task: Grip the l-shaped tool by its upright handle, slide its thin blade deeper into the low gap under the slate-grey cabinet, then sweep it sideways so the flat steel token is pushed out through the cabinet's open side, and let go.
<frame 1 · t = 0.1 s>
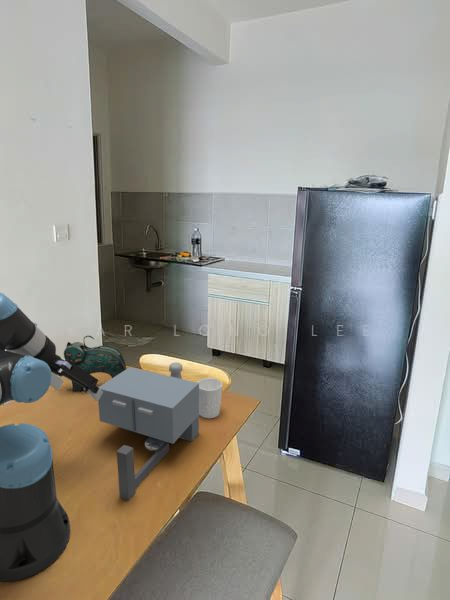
hand: (79, 390, 99), 15 cm above the table, tool tilted 35°, fingers open, 13 cm apart
l-shaped tool: (127, 494, 85), on the table
ceramic cat: (99, 389, 131), on the table
salt shaker: (176, 400, 125), on the table
steel token: (156, 444, 103), on the table
white cup: (209, 413, 118), on the table
cabinet: (150, 436, 106), on the table
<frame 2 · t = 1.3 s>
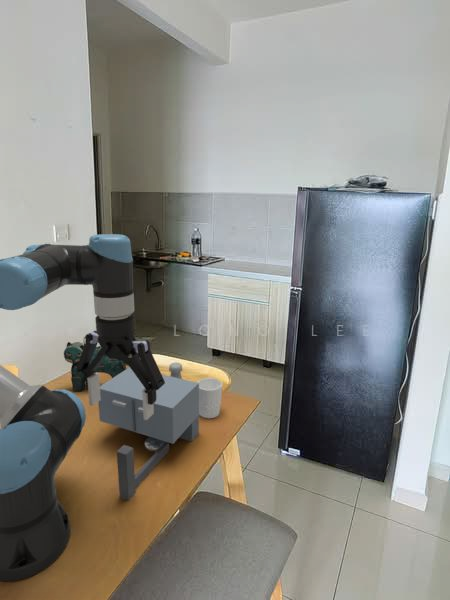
hand: (121, 409, 80), 22 cm above the table, tool pointing down, fingers open, 13 cm apart
nothing on the table moved.
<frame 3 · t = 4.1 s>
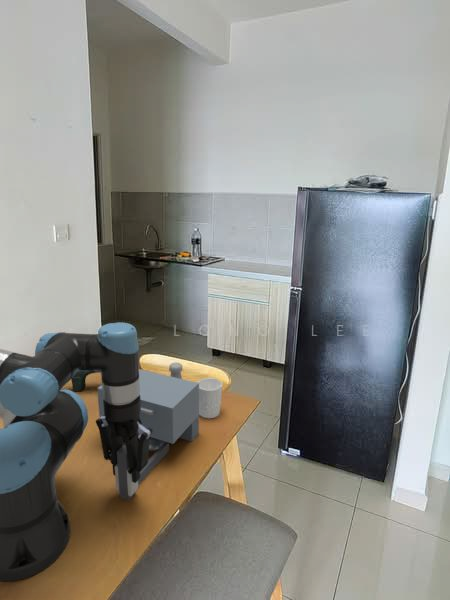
hand: (127, 489, 85), 2 cm above the table, tool pointing down, fingers closed on l-shaped tool, 2 cm apart
l-shaped tool: (127, 494, 85), on the table, touching gripper
everything else where it was.
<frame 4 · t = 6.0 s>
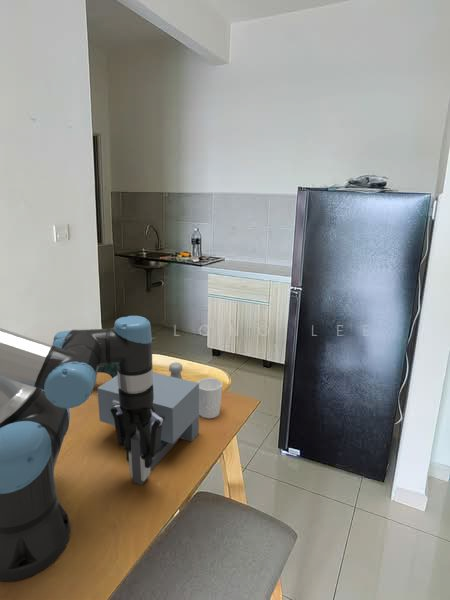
hand: (140, 474, 89), 2 cm above the table, tool pointing down, fingers closed on l-shaped tool, 2 cm apart
l-shaped tool: (140, 480, 90), on the table, touching gripper
everything else where it was.
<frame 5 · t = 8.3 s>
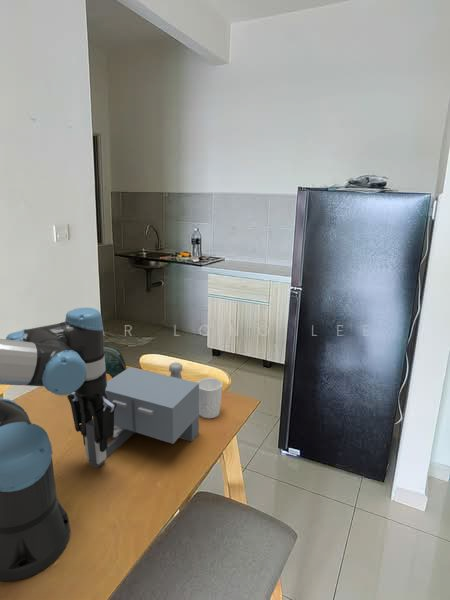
hand: (96, 458, 94), 2 cm above the table, tool pointing down, fingers closed on l-shaped tool, 2 cm apart
l-shaped tool: (97, 463, 95), on the table, touching gripper
steel token: (120, 432, 108), on the table
everything else where it was.
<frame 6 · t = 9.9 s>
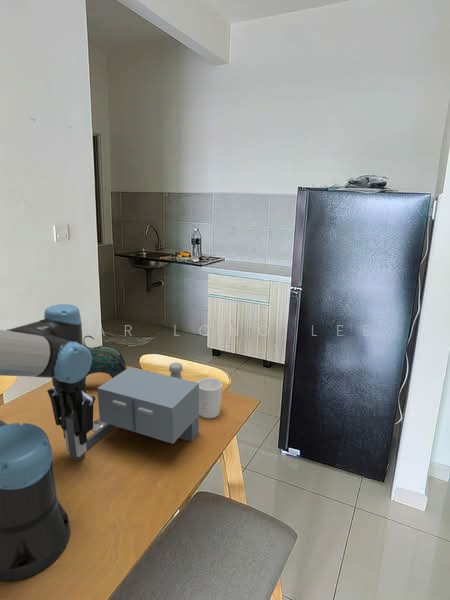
hand: (76, 451, 97), 2 cm above the table, tool pointing down, fingers closed on l-shaped tool, 2 cm apart
l-shaped tool: (77, 456, 97), on the table, touching gripper
steel token: (102, 427, 110), on the table
everything else where it was.
when the fingers open (2 cm above the table, at t = 10.7 s): l-shaped tool stays where it is, on the table.
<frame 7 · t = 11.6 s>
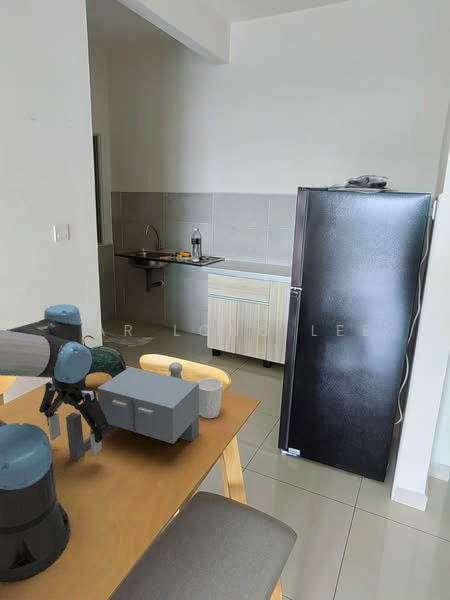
hand: (75, 444, 96), 4 cm above the table, tool pointing down, fingers open, 13 cm apart
l-shaped tool: (77, 456, 97), on the table
everything else where it was.
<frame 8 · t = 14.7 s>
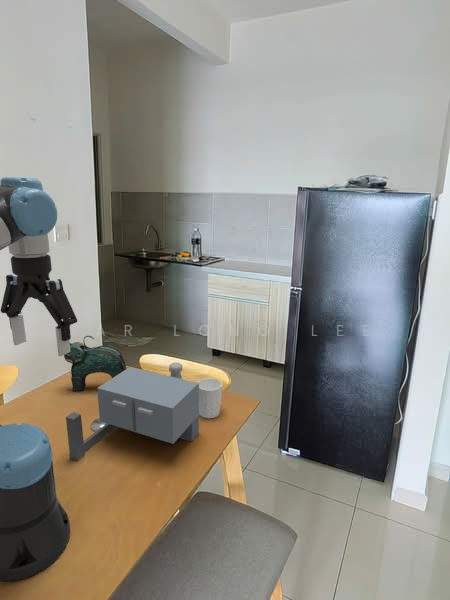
hand: (41, 348, 85), 32 cm above the table, tool pointing down, fingers open, 13 cm apart
nothing on the table moved.
at the end: steel token inside the target area (7.4 cm from its centre), on the table; steel token moved 18.9 cm from its start; the gripper is holding nothing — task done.
